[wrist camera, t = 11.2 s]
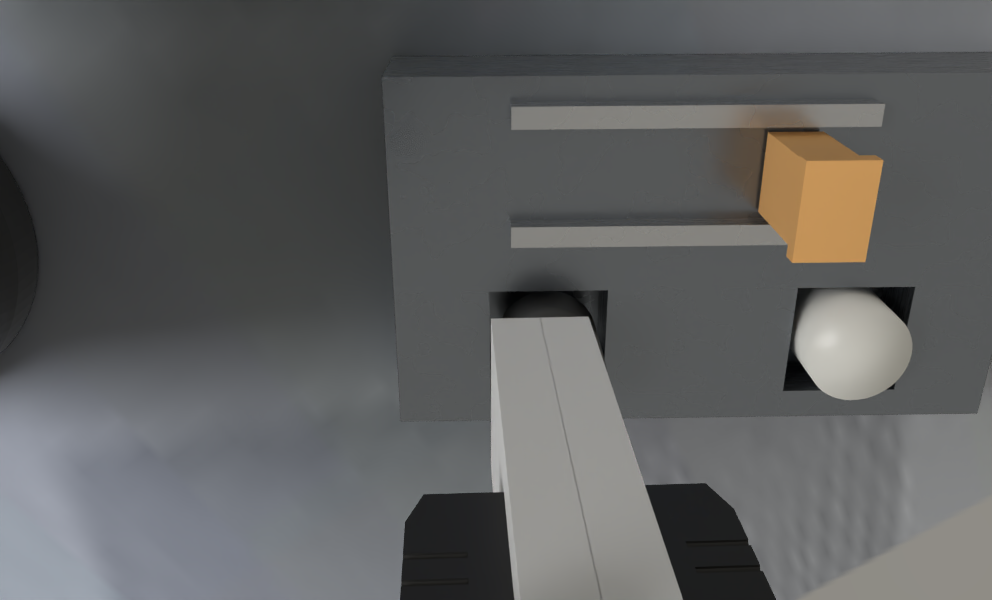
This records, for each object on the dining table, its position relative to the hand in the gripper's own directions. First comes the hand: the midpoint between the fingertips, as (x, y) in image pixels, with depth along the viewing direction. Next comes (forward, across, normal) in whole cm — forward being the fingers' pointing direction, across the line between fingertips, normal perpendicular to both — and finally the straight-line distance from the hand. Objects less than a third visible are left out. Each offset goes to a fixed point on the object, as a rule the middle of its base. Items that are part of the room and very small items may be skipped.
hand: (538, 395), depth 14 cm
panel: (+24, +8, -6) cm, 26 cm away
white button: (+21, +14, -9) cm, 27 cm away
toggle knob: (+19, +11, -2) cm, 22 cm away
